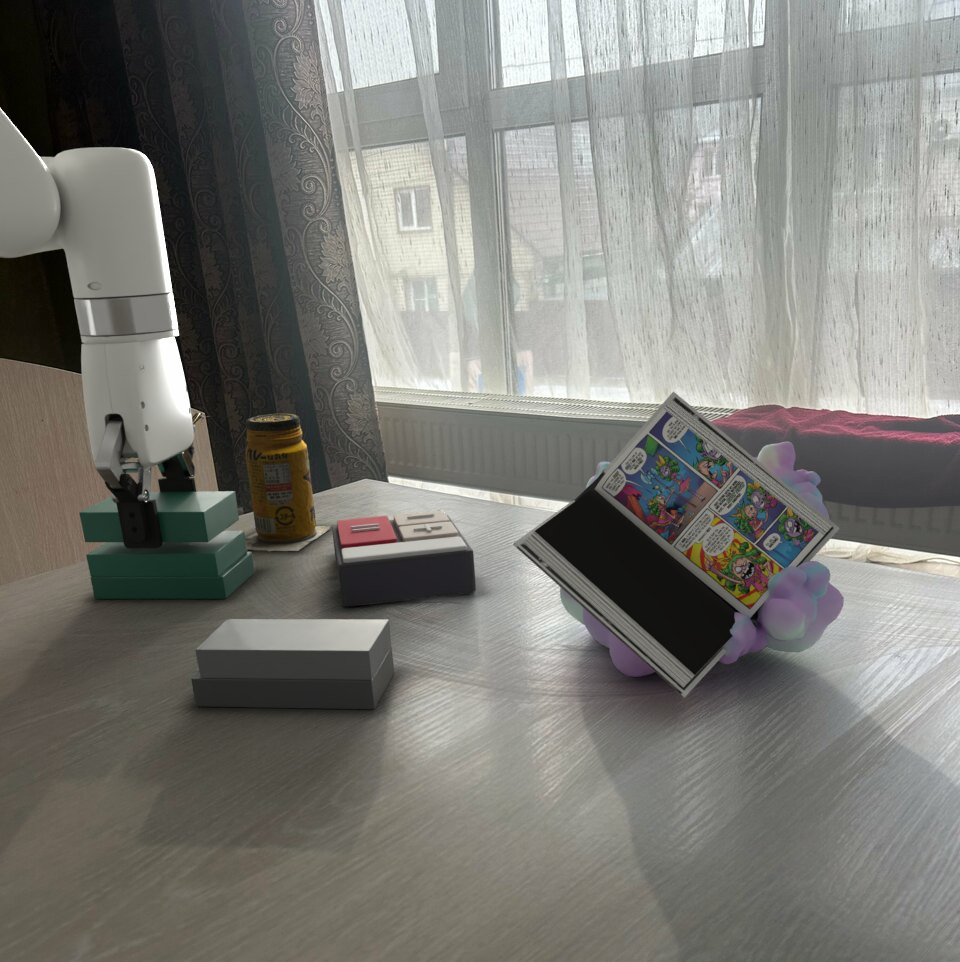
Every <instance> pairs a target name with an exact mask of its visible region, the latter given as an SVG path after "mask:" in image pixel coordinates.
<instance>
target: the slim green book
mask: <svg viewBox="0 0 960 962" xmlns="http://www.w3.org/2000/svg"><path fill="white" fill-rule="evenodd" d="M149 500H156V506H157V512H158V517H159V523H160V529H161V535H162V541H163V542H209V541H210V540H212V539H213V538H215V537H216V536H217V535H219V534H220V533H221V532H223V531H226V530H227V529H229V528H230V527H231V526H232V525H234V524H235V523H236V522H238V521H239V520H240V517H239V510H238V503H237V494H236V491H235V490H234V491H233V490H230V491H229V490H224V491H223V490H222V491H221V490H219V491H214V490H213V491H206V490H205V491H196V492H160V491H150V499H149ZM79 518H80V523H81V528H82V533H83V538H84V542H85V543H106V542H123V536H122V531H121V526H120V520H119V515H118V509H117V504H116V503H114V502H113V500H112V496H109V497H107V498H104V499H103V500H101V501H99V502H97V503H96V504H93V505H91V506H90V507H87V508H85V509H83V510H82V511H80V512H79Z"/></svg>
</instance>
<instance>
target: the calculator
mask: <svg viewBox="0 0 960 962" xmlns="http://www.w3.org/2000/svg"><path fill="white" fill-rule="evenodd" d="M331 529H332V530H331V531H332V540H333V548H334V557H335V563H336V569H337V575H338V583H339V589H340V598H341V604H342V606H343V607H346V608H347V607H356V606H357V607H358V606H364V605H365V606H366V605H373V604H374V605H375V604H383V603H393V602H401V601H402V602H403V601H411V600H419V599H420V600H421V599H428V598H435V597H436V598H437V597H446V596H456V595H465V594H472V593H475V592H476V590H477V588H476V587H477V586H476V584H477V583H476V571H475V570H476V569H475V557H474V550H473V549H472V547H471V546H470V544H469V542H468V541H467V540H466V539H465V537H464V536H463V534H462V532H461V531H460V530H459V528H458V527H457V526H456V524H455V523H454V522H453V520H452V518H451V517H450V516H449V515H448V514H446V512H445V511H444V510H443V509H439V510H428V511H418V512H408V513H399V514H394V515H393V519H389V517H388V516H387V515H379V516H377V515H376V516H369V517H358V518H349V519H340V520H337V521H336V525H332V526H331Z"/></svg>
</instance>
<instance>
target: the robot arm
mask: <svg viewBox="0 0 960 962" xmlns="http://www.w3.org/2000/svg"><path fill="white" fill-rule="evenodd" d="M164 234H165V233H164V227H163V221H162V214H161V208H160V201H159V195H158V189H157V181H156V176H155V171H154V168H153V165H152V164H151V160H150V159H149V158H148V157H147V156H146V154H144V153H142V152H141V151H139V150H137V149H132V148H126V147H113V146H109V147H108V146H107V147H106V146H104V147H103V146H102V147H101V146H100V147H80V148H72V149H67V150H62V151H61V152H59V153H57V154H56V155H55V156H40V155H38V153H37V152H36V151H35V149H34V147H32V145H31V144H30V143H29V142H28V140H27V139H26V138H25V137H24V135H23V134H22V133H21V132H20V130H19V129H18V128H17V126H16V125H15V124H14V123H13V122H12V121H11V119H10V118H9V117H8V116H7V115H6V113H5V112H4V111H3V110H2V108H1V107H0V258H3V259H13V258H14V259H15V258H19V257H24V256H28V255H34V254H37V253H43V252H49V251H55V250H61V249H63V251H64V253H65V258H66V263H67V269H68V270H67V271H68V274H69V280H70V285H71V290H72V296H73V298H74V299H73V302H74V308H75V312H76V317H77V324H78V329H79V334H80V339H81V340H80V341H81V348H80V349H81V350H80V351H81V352H80V364H81V365H80V366H81V368H80V369H81V384H82V393H83V394H82V395H83V403H84V411H85V419H86V426H87V432H88V433H87V434H88V438H89V445H90V451H91V455H92V460H93V462H94V467H95V470H96V471H97V473H98V475H99V476H100V477H101V478H102V480H103V481H104V484H105V487H106V488H107V489H108V491H110V494H111V496H112V500H113V502H114V503H116V504H117V509H118V515H119V520H120V526H121V531H122V536H123V542H124V545H125V547H126V548H129V549H131V548H159V547H160V546H162V544H163V541H162V535H161V529H160V523H159V517H158V512H157V506H156V500H149V499H150V492H151V484H152V468H153V467H155V466H157V467H158V470H159V472H160V474H161V476H162V477H161V478H158V479H157V482H158V483H157V484H158V488H159V492H197V486H196V480H195V475H196V467H195V464H194V462H193V458H194V454H195V447H194V441H195V435H196V426H195V424H194V423H193V416H192V408H191V403H190V398H189V392H188V388H187V387H188V386H187V382H186V378H185V373H184V369H183V364H182V361H181V356H180V352H179V348H178V344H177V341H176V338H175V337H178V336H180V333H179V325H178V318H177V312H176V307H175V300H174V293H173V288H172V286H173V285H172V281H171V274H170V267H169V260H168V253H167V248H166V241H165V235H164ZM130 459H137V460H136V461H128V460H130ZM131 474H137V482H136V480H135V479H134V478H133V477H132V475H131ZM111 496H110V497H111Z"/></svg>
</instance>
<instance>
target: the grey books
mask: <svg viewBox="0 0 960 962" xmlns="http://www.w3.org/2000/svg"><path fill="white" fill-rule="evenodd" d="M391 638H392V637H391V627H390V619H384V618H383V619H377V618H376V619H373V618H372V619H371V618H370V619H362V618H361V619H360V618H359V619H357V618H356V619H354V618H352V619H351V618H349V619H344V618H343V619H340V618H338V619H336V618H333V619H330V618H329V619H328V618H323V619H322V618H321V619H319V618H316V619H315V618H312V619H311V618H307V619H306V618H302V619H301V618H226V620H224V621H223V623H221V624H220V625H219V626H218V627H217V628H216V629H215V630H214V631H213V632H211V634H210V635H209V636H208V637H207V638H206V639H205V640H204V641H203V642H202V643H200V645H199V646H198V647H197V648H196V649H195V656H196V661H197V666H198V667H197V668H198V671H197V672H196V673H195V674H194V675H193V676H192V677H191V679H190V681H191V686H192V693H193V697H194V703H195V706H196V707H203V708H205V707H207V708H209V707H211V708H213V707H214V708H263V709H265V708H268V709H270V708H271V709H323V710H325V709H326V710H331V709H332V710H375V709H376V707H377V706H378V704H379V702H380V701H381V698H382V697H383V695H384V693H385V691H386V689H387V687H388V685H389V684H390V682H391V680H392V678H393V676H394V675H395V667H394V658H393V657H394V656H393V647H392V639H391Z"/></svg>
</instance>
